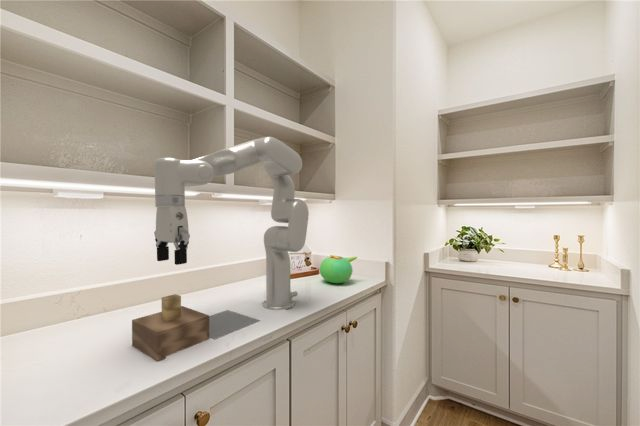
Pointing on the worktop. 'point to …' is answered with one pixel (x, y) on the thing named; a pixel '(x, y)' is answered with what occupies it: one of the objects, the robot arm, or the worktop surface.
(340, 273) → the green rounded piece
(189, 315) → the square lid with knob
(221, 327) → the rubber mat
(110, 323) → the worktop surface
